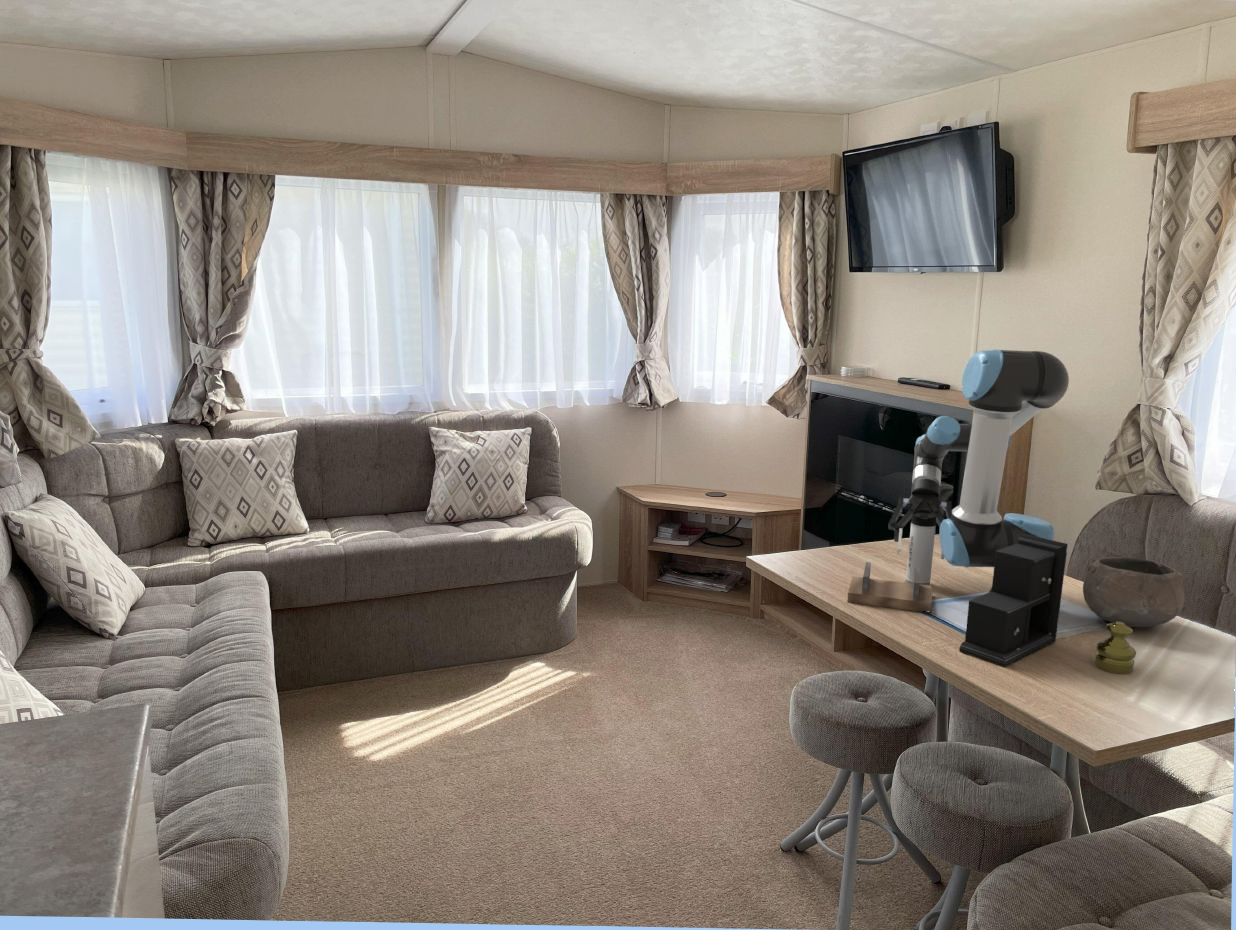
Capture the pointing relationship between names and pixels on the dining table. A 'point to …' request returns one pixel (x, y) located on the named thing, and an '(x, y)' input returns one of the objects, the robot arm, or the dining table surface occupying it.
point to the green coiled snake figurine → (1116, 650)
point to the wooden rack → (890, 592)
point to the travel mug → (921, 546)
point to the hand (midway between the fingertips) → (920, 554)
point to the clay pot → (1133, 591)
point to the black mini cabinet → (1018, 602)
